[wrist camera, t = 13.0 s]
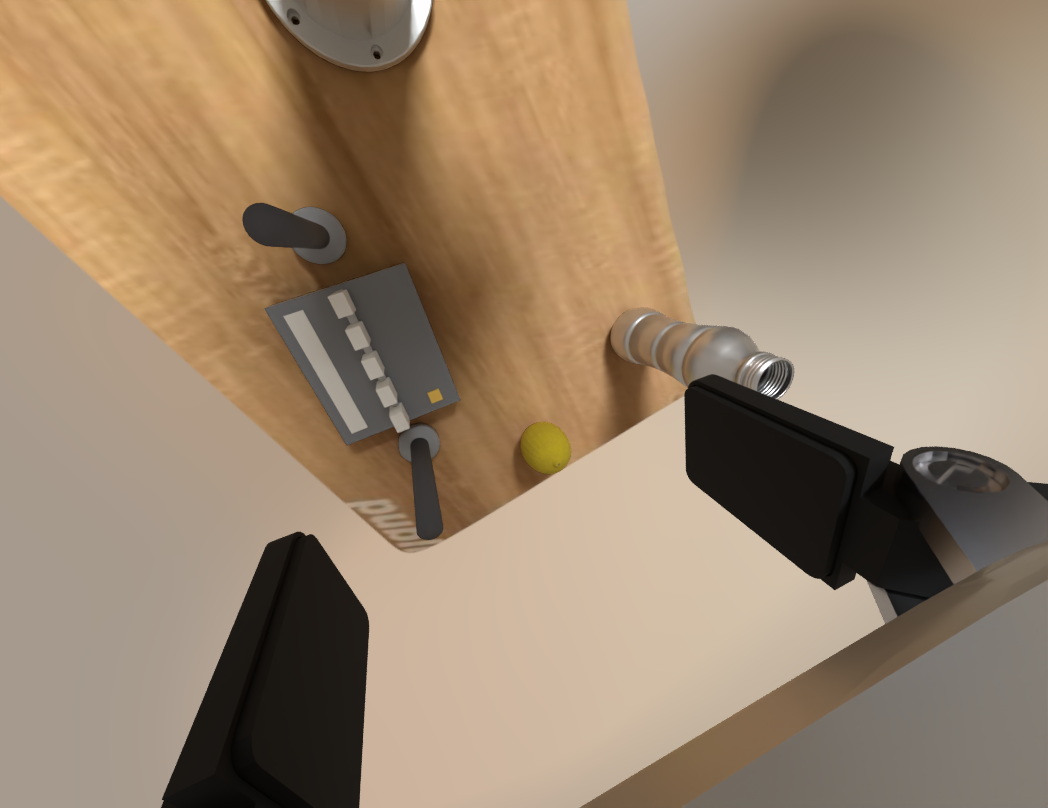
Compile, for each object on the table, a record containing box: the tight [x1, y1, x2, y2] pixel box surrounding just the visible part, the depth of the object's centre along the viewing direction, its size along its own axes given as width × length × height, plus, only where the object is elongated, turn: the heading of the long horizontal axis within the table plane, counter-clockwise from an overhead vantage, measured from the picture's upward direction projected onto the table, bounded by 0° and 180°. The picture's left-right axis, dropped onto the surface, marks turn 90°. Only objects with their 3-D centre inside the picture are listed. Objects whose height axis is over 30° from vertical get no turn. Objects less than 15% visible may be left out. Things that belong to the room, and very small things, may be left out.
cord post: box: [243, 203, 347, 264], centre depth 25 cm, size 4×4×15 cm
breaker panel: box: [265, 263, 460, 445], centre depth 36 cm, size 14×12×3 cm
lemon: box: [520, 422, 571, 474], centre depth 43 cm, size 6×6×8 cm
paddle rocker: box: [328, 289, 410, 433], centre depth 33 cm, size 13×1×3 cm, turn 17°
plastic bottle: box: [611, 308, 794, 400], centre depth 37 cm, size 6×7×20 cm
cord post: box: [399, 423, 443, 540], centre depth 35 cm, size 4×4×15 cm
